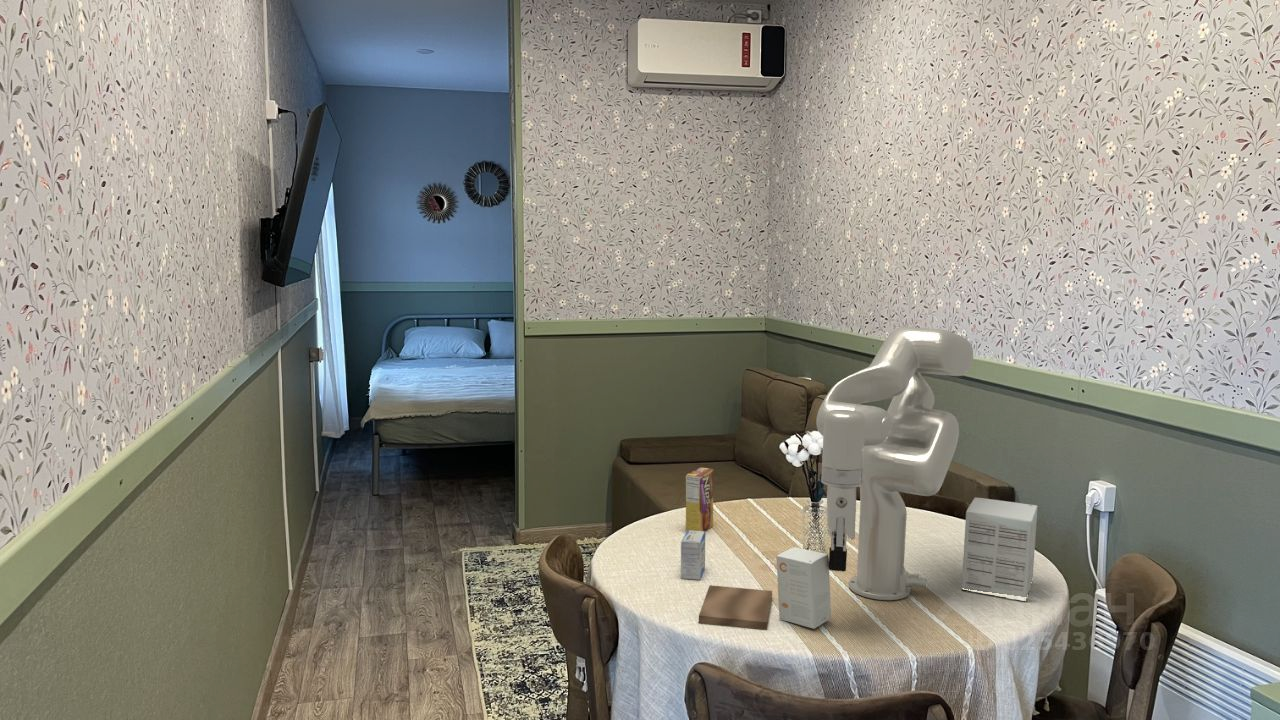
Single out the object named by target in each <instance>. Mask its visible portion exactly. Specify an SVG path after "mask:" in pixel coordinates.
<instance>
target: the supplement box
mask: <svg viewBox="0 0 1280 720" xmlns="http://www.w3.org/2000/svg"><path fill="white" fill-rule="evenodd" d="M1037 520H1038V505H1036V504H1028V503H1021V502H1014V501H1006V500H1000V499H990V498H985V497H984V498H983V497H976V496H975V497H974V498H973V499H972V502H971V503H970V504H969V506H968V508H967V510H966V511H965V522H964V523H965V527H964V540H963V541H964V543H963V544H964V545H963V558H962V559H963V563H962V577H961V588H964V589H968V590H969V589H970V590H977V591H983V592H992V593H999V594H1007V595H1014V596H1021V597H1027V595H1028V592H1029V589H1030V590H1031V588H1030V586H1031V587H1032V585H1031V582H1032V583H1033V580H1032V578H1033V577H1034V576H1033V575H1034V566H1035V565H1034V562H1035V548H1036V535H1037ZM1033 579H1034V578H1033ZM1029 593H1030V592H1029ZM1028 596H1029V595H1028Z"/></svg>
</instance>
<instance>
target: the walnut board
mask: <svg viewBox="0 0 1280 720" xmlns="http://www.w3.org/2000/svg"><path fill="white" fill-rule="evenodd" d="M707 588H708V589H707V592H706V593H705V597H704V600H703V603H702V605H701V607H700V608H701V609H700V610H699V611H700V612H699V614H698V623H699V624H703V623H704V624H706V625H716V626H726V627H734V628H735V627H736V628H744V629H745V628H747V629H755V630H768V624H769V619H770V612H771V606H772V601H773V600H772V599H773V590H767V589H765V590H764V589H754V588H745V587H733V586H724V585H723V586H720V585H712V584H711V585H709V586H708V587H707Z"/></svg>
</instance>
